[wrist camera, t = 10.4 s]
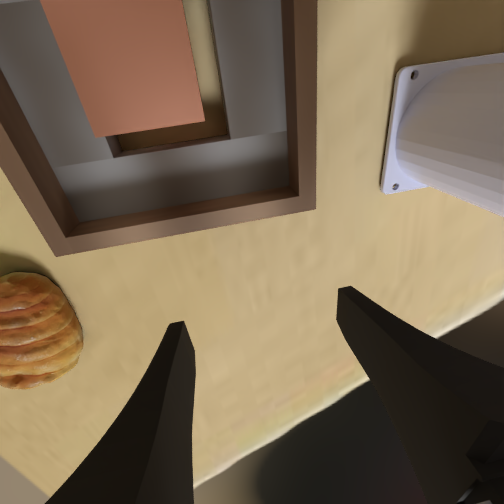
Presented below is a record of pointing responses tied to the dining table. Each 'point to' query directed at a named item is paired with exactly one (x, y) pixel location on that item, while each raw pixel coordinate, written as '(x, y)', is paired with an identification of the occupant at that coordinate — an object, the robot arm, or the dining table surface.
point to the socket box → (169, 155)
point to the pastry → (35, 331)
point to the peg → (128, 62)
